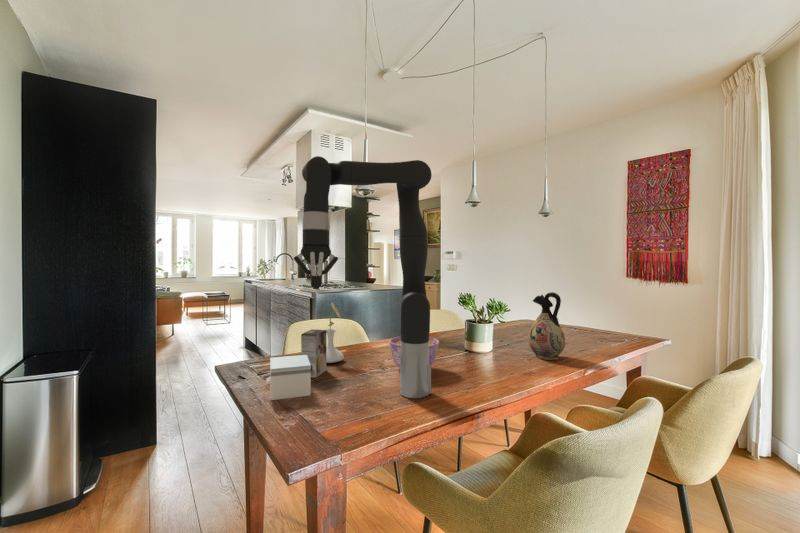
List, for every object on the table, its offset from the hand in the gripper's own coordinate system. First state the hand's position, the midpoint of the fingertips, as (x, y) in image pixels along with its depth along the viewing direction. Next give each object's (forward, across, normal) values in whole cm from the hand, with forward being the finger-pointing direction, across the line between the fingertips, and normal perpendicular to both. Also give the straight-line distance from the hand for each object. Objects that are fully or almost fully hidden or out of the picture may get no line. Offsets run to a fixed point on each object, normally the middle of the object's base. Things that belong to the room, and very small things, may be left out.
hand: (315, 288), depth 104 cm
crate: (+35, +6, -17) cm, 39 cm away
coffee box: (+35, -4, -34) cm, 49 cm away
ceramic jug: (+35, -106, -22) cm, 114 cm away
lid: (+26, +6, -17) cm, 31 cm away
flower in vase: (+35, -13, -49) cm, 62 cm away
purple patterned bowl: (+35, -42, -26) cm, 61 cm away
